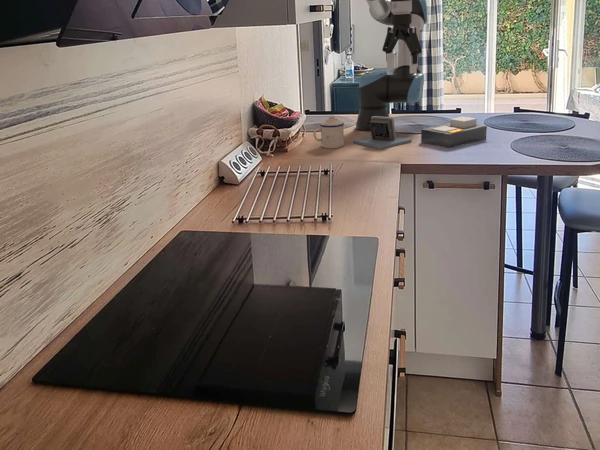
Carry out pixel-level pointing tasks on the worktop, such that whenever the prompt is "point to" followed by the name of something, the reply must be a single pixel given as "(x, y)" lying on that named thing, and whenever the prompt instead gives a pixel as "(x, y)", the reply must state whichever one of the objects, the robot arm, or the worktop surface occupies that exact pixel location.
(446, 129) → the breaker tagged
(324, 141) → the teacup with lid
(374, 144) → the pad
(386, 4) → the robot arm
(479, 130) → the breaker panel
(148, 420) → the worktop surface
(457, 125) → the block
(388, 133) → the electrical switch
